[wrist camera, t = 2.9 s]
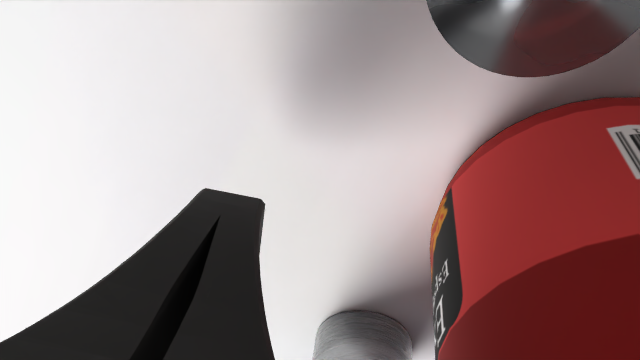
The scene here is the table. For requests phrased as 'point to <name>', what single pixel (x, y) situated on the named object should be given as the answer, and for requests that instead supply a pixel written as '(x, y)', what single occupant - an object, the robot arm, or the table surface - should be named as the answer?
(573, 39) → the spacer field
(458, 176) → the canned food
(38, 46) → the table surface
